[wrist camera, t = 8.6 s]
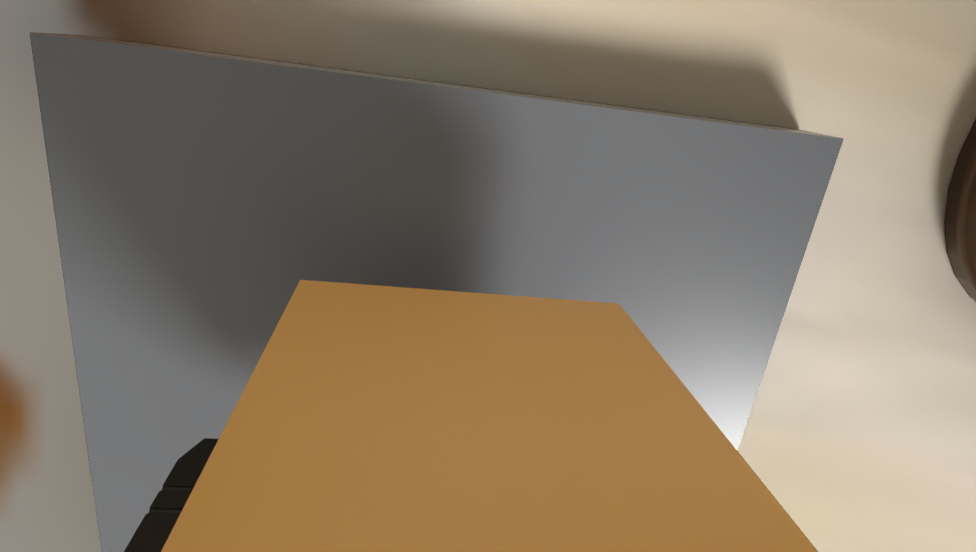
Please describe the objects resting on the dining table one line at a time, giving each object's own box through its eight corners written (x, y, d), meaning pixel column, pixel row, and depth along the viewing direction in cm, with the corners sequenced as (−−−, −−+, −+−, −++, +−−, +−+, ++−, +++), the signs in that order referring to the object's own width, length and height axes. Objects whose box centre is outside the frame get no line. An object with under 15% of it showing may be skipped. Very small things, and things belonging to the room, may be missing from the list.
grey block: (800, 130, 14) (1056, 182, 8) (679, 518, 18) (795, 727, 12) (76, 34, 11) (-247, 18, 6) (130, 508, 16) (-30, 759, 10)
